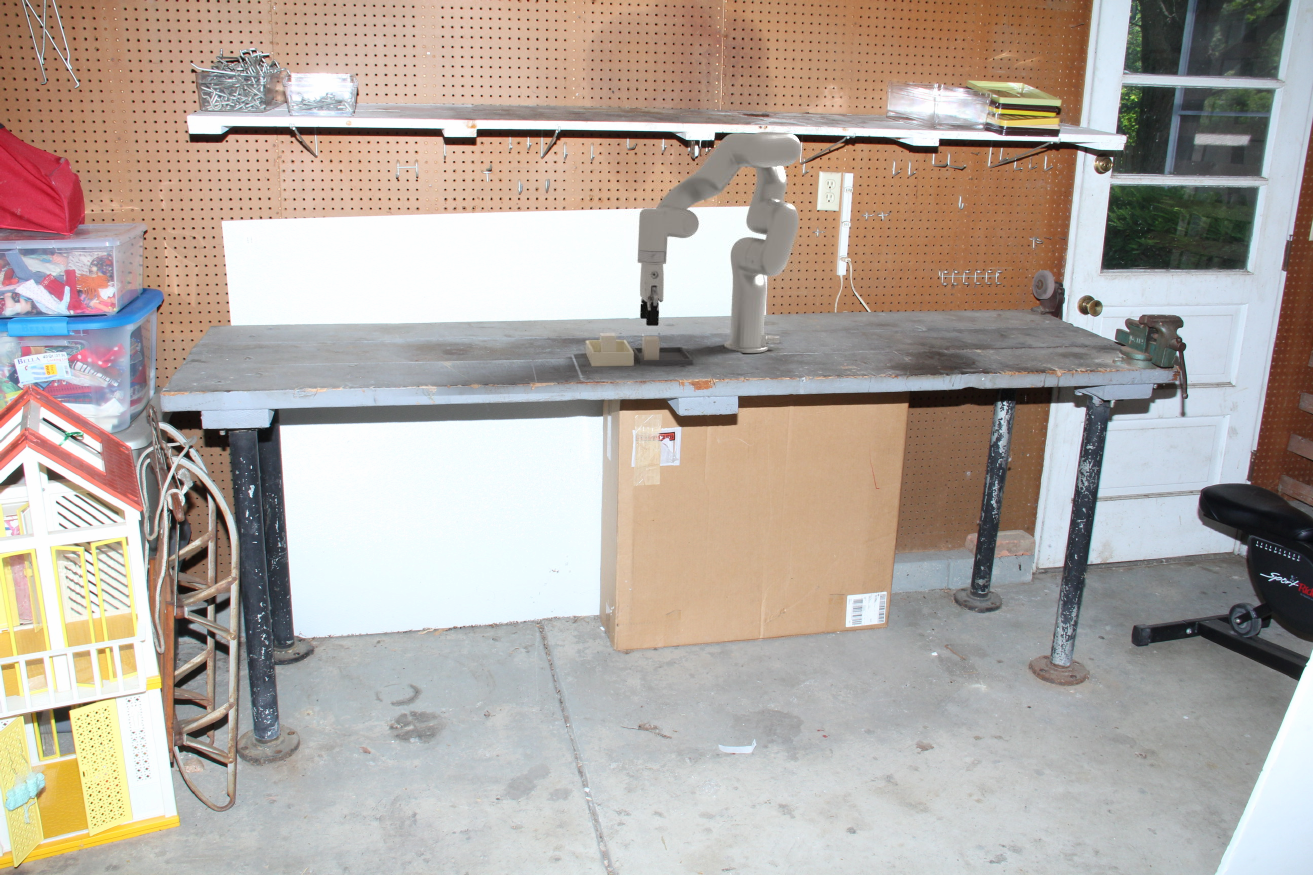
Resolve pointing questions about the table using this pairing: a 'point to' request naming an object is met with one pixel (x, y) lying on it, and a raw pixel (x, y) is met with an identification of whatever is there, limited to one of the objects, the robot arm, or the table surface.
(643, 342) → the stone
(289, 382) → the table surface
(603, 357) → the tub
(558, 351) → the table surface
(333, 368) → the table surface
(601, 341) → the stone
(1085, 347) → the table surface
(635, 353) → the pan
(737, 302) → the robot arm
